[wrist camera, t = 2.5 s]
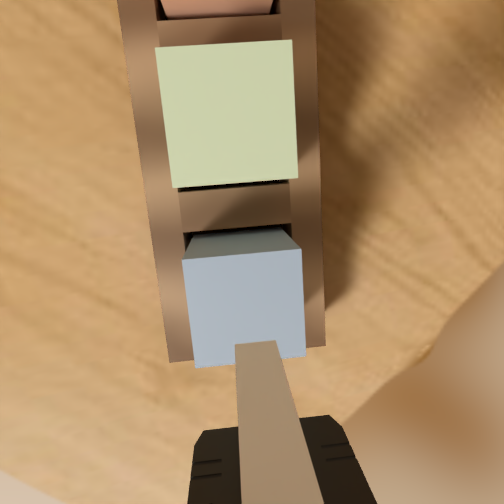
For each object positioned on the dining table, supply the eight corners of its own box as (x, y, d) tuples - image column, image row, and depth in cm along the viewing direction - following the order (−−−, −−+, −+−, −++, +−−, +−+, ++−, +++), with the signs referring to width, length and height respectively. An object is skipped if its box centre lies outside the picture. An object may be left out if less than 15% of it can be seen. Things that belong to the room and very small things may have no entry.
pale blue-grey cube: (193, 234, 24) (181, 259, 17) (280, 227, 24) (301, 248, 18) (203, 315, 26) (195, 368, 19) (284, 307, 26) (306, 356, 19)
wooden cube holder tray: (115, -117, 21) (90, -181, 17) (294, -123, 22) (309, -186, 18) (177, 336, 28) (169, 362, 24) (312, 322, 29) (325, 345, 25)
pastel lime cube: (176, 85, 22) (154, 47, 15) (271, 79, 22) (292, 39, 15) (187, 182, 23) (172, 188, 17) (277, 175, 24) (298, 177, 17)
